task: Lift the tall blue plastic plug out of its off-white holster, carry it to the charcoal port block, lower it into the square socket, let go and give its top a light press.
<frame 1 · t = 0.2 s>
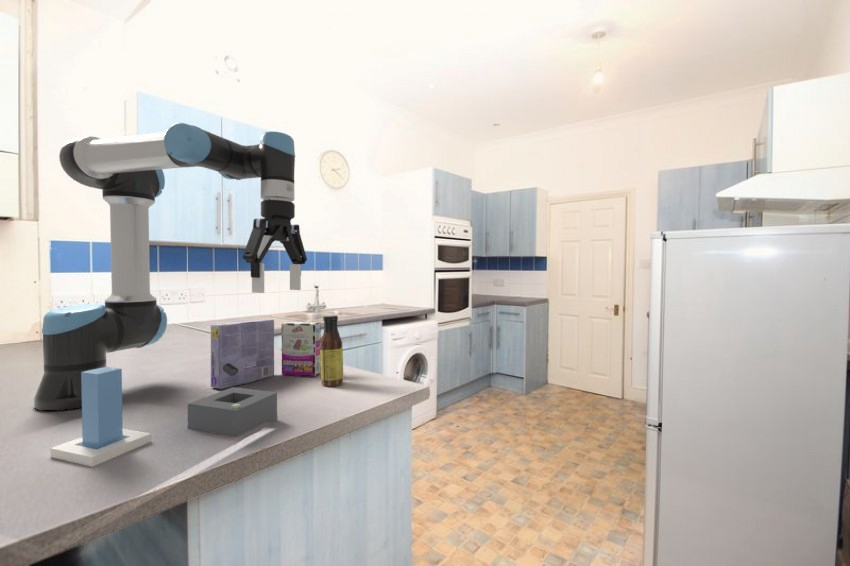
hand: (277, 291, 96), 28 cm above the counter, tool pointing down, fingers open, 13 cm apart
port: (234, 425, 85), on the counter
plug: (103, 448, 72), point 1 cm above the counter, touching holster
candy bar box: (301, 375, 127), on the counter
holster: (103, 454, 72), on the counter
sauce bottle: (331, 384, 117), on the counter
cake pan box: (245, 382, 119), on the counter
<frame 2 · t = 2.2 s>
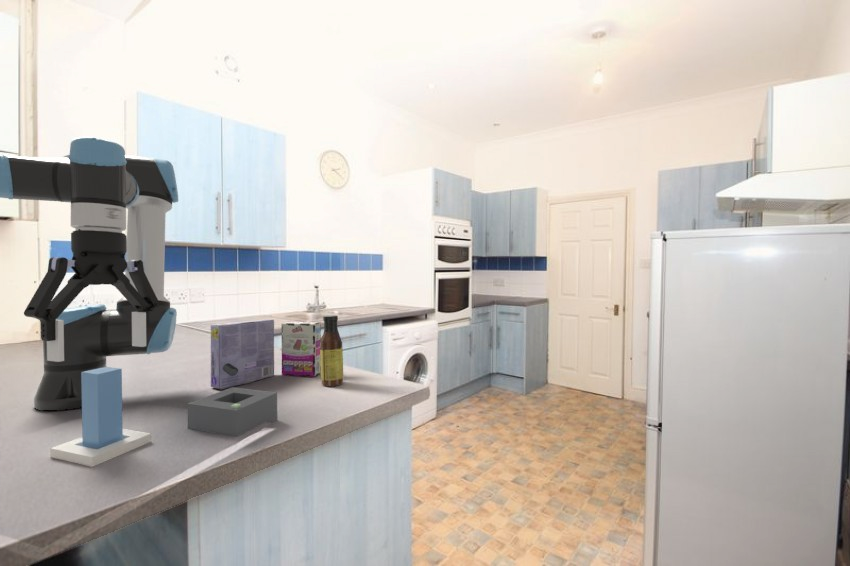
hand: (101, 353, 71), 18 cm above the counter, tool pointing down, fingers open, 13 cm apart
nothing on the counter moved.
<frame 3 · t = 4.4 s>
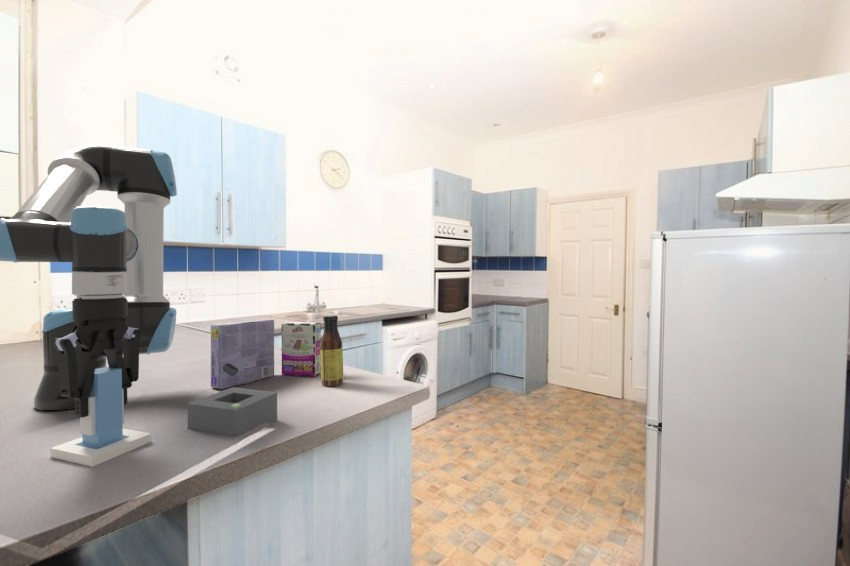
hand: (102, 428, 72), 5 cm above the counter, tool pointing down, fingers closed on plug, 4 cm apart
plug: (103, 448, 72), point 1 cm above the counter, touching gripper, holster
everything else where it was.
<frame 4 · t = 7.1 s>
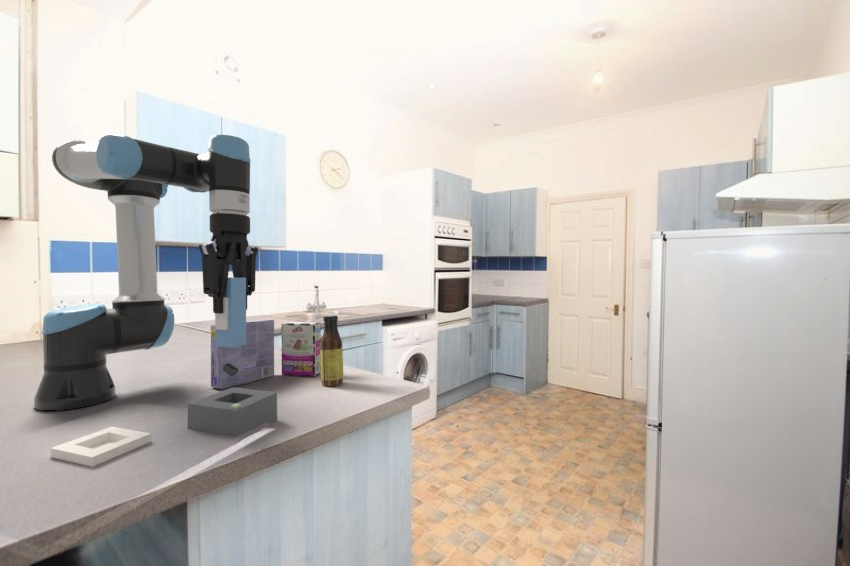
hand: (231, 327, 84), 21 cm above the counter, tool pointing down, fingers closed on plug, 4 cm apart
plug: (231, 345, 84), point 17 cm above the counter, touching gripper
everything else where it was.
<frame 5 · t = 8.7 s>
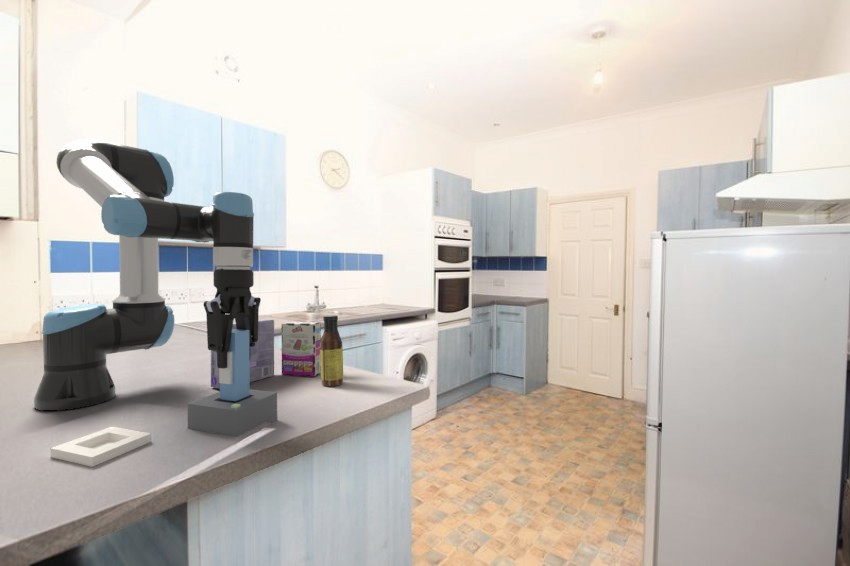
hand: (234, 380, 85), 10 cm above the counter, tool pointing down, fingers closed on plug, 4 cm apart
plug: (235, 397, 85), point 6 cm above the counter, touching gripper
everything else where it was.
when the fingers open (7 cm above the counter, at t = 9.9 s): plug drops 1 cm, resting on port.
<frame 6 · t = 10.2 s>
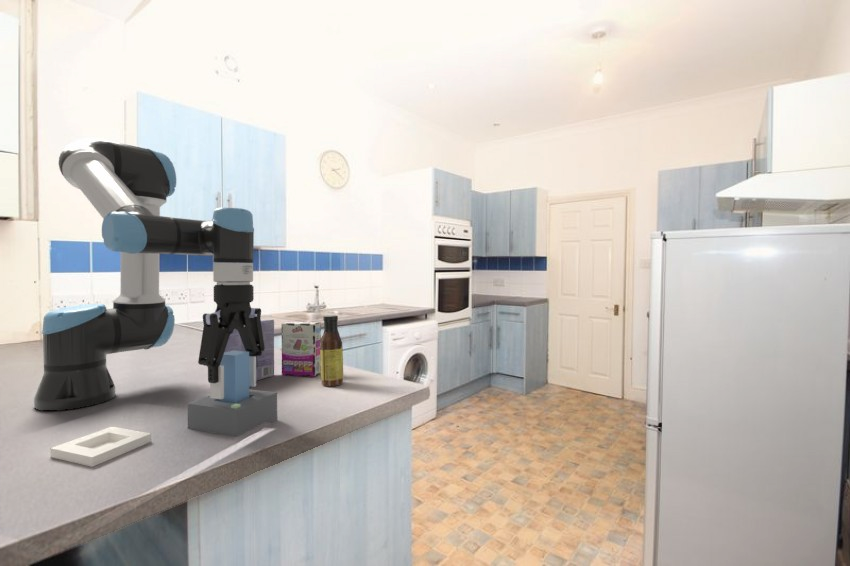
hand: (234, 391, 85), 7 cm above the counter, tool pointing down, fingers open, 8 cm apart
plug: (234, 418, 85), point 1 cm above the counter, touching port
everything else where it was.
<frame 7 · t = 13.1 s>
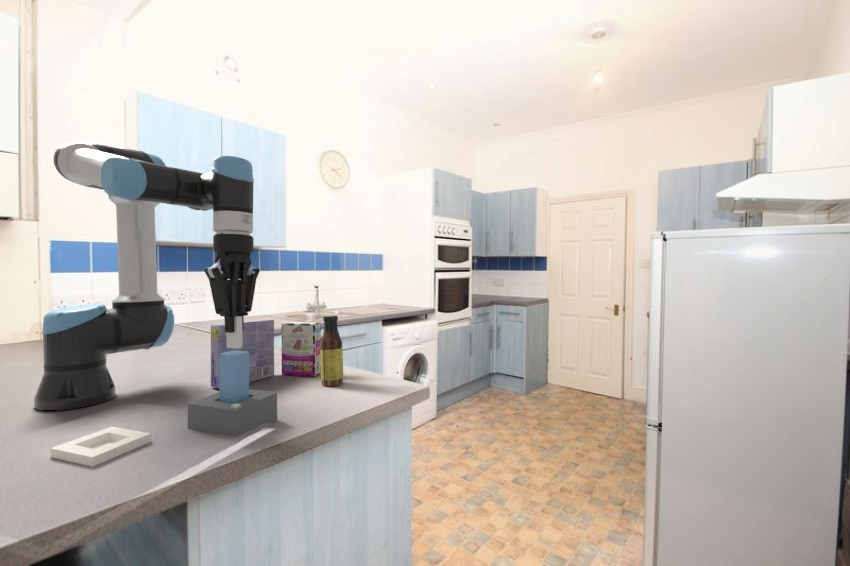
hand: (234, 347, 85), 17 cm above the counter, tool pointing down, fingers closed
nothing on the counter moved.
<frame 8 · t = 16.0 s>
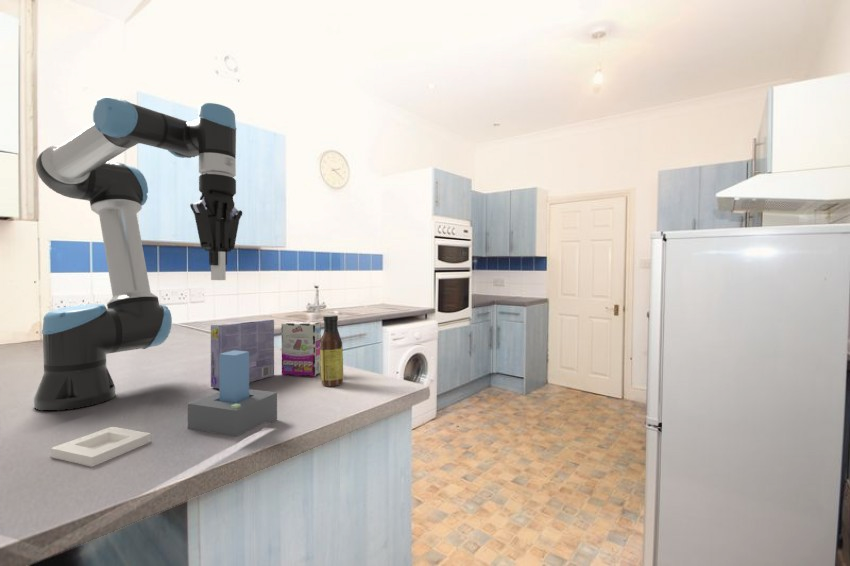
hand: (218, 279, 93), 30 cm above the counter, tool pointing down, fingers closed
nothing on the counter moved.
at the end: plug 0.0 cm off-centre on the port, point 1.5 cm above the port's base; plug tilted 0°; the gripper is holding nothing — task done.
